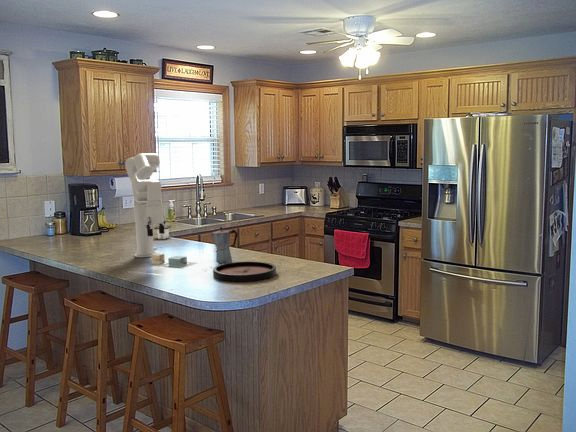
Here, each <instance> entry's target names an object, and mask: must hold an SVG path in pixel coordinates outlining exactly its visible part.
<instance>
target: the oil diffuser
mask: <svg viewBox="0 0 576 432" xmlns="http://www.w3.org/2000/svg"><path fill="white" fill-rule="evenodd" d="M159 226H160V225H157V226H155V227H154V228H153V230H157V231H156V232H157V239H158V240H166V238H167V239H168V238H170V234H169V233H170V232H169V231H170V230H169V229H170V228H172V225H165V226H164V234H161V233H159Z"/></svg>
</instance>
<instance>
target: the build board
mask: <svg viewBox="0 0 576 432" xmlns="http://www.w3.org/2000/svg"><path fill="white" fill-rule="evenodd" d="M196 264H198V262H191V261H187V264H185V265H182V266H169V262H167V263H166V262H165V263H162V264H159V265H158V266H157V267H160V268H170V269H171V268H172V269H185V268H188V267H190V266H193V265H196Z"/></svg>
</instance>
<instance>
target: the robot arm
mask: <svg viewBox="0 0 576 432" xmlns="http://www.w3.org/2000/svg"><path fill="white" fill-rule="evenodd" d="M124 164H125V165H124V166H125V170H126V174H127V176H128V178H129V180H130V182H131V188H132V195H133V199H134V201H135V202H136V203H137V204H134V205H133V207H132V211H133V216H134V221H135V222H134V225H135V237H136V238H135V239H136V252H135V253H134V257H136V258H151V255H153V254H156V253H157V252H155V251H158V247H157V246H154V238H153V237H154V232H153V231H154V228H153V227H154V226H156V225H157V226H159V233H161V234H164V226H166V222H167V217H166V216H164V214H165V213H164V210H165V209H164V205H163V199H162V183H161V181H159V179H148V178H150V177H151V176H152V175H153V173H154V171H155V170H156V169H158V167H160V164H161V163H160V157H159V155H158V154H157V153H154V152H153V153H152V152H151V153H150V152H149V153H138V154H136V155H135V156H133V157H129V158H126V160H125V162H124Z"/></svg>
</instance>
